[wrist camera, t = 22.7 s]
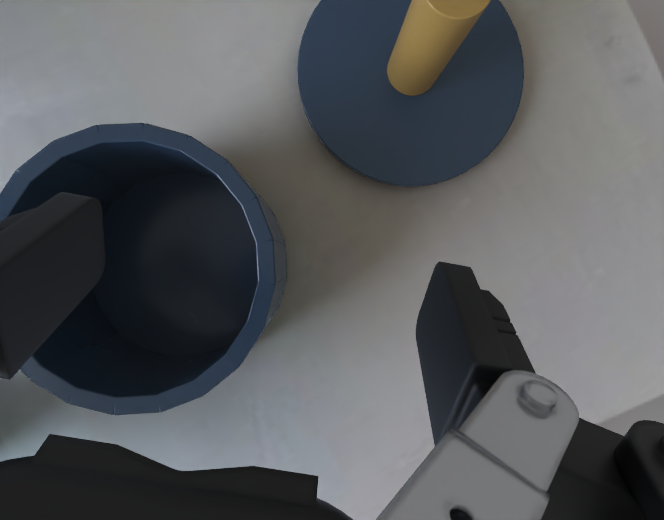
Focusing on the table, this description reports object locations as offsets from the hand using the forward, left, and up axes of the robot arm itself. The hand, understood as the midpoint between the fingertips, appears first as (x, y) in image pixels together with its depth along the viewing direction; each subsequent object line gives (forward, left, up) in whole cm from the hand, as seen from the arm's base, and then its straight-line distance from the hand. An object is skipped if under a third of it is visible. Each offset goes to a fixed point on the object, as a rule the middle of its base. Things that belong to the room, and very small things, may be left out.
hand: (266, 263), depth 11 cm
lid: (-8, +10, -17) cm, 21 cm away
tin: (-2, -7, -17) cm, 19 cm away
